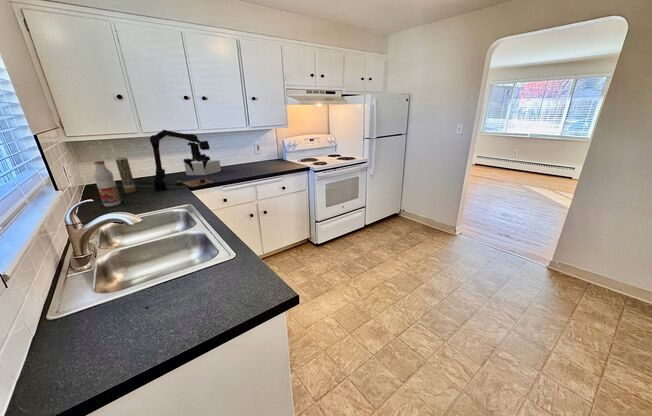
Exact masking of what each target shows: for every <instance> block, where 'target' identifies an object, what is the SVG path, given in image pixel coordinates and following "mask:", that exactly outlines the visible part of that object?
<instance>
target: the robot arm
mask: <svg viewBox="0 0 652 416" xmlns="http://www.w3.org/2000/svg"><path fill="white" fill-rule="evenodd" d="M165 137H172V138H176V139H184V140H186V141H188V142H187V146H190V153H191V158H189V157H188V158H183V164H188V165H189V167H190V168H191V170H192V171H193V166H192V163H191V162H197V161H198V162H200V161H202V162H203V167H204V169H205V168H206V163H207V162H208V161H211V157H210V156H208V155H206V153H202V152H201V151H207V150H210V144H209V142H208V140H200V139H199V138H198V136H197V135H196V134H194V133H182V132H177V131H172V130H167V129H162V130H161V131H160V132H157V133H156V134H151V135H150V137H149V141H150V145H151V147H152V151H153V156H154V157H153V158H154V162H155V163H154V164H155V175H154V177H153V178H152V179H153V186H154V190H155V191H156V192H158V191H164V190H167V186H166V182H165V180H164V179H165V178H166V176H167V174H166V169H165V168H163V167H162V161H161V160H162V159H161V154H160V141H161V140H162V139H164V138H165ZM200 150H201V151H200Z"/></svg>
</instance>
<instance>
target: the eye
mask: <svg viewBox="0 0 652 416" xmlns="http://www.w3.org/2000/svg"><path fill="white" fill-rule="evenodd" d="M198 179H199V180H200V183H205V179H206V178H204V177H200V178H198Z"/></svg>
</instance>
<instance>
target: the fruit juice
mask: <svg viewBox="0 0 652 416" xmlns="http://www.w3.org/2000/svg"><path fill="white" fill-rule="evenodd" d="M94 165H95V172H94V174H93V177H94V179H95V181H96V187H97V190H98V193H99V197H100V198H101V202H102V205H103V207H116V206H118V205H121V204H122V199H121V196H120V193H119V189H118V186H117V183H116V181H115V180H114V174H113V172H112V171H110V170H109V169H108V167H106V163H105V161H104V160H95V161H94Z"/></svg>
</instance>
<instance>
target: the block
mask: <svg viewBox="0 0 652 416" xmlns="http://www.w3.org/2000/svg"><path fill="white" fill-rule="evenodd" d="M191 163H192V166H193V171H192V170H191V168H190V167H189V165H188V164H186V163H183V164H184V165H183V166H184V168H185V175H186V176H208V175H211V174H216V173H221V172H222V167H221V160H217V159H215V160H211V159H210V160H208V162H207V163H206V168H205V169H204V167H203V162H202V161H200V162H198V161H192V162H191Z"/></svg>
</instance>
